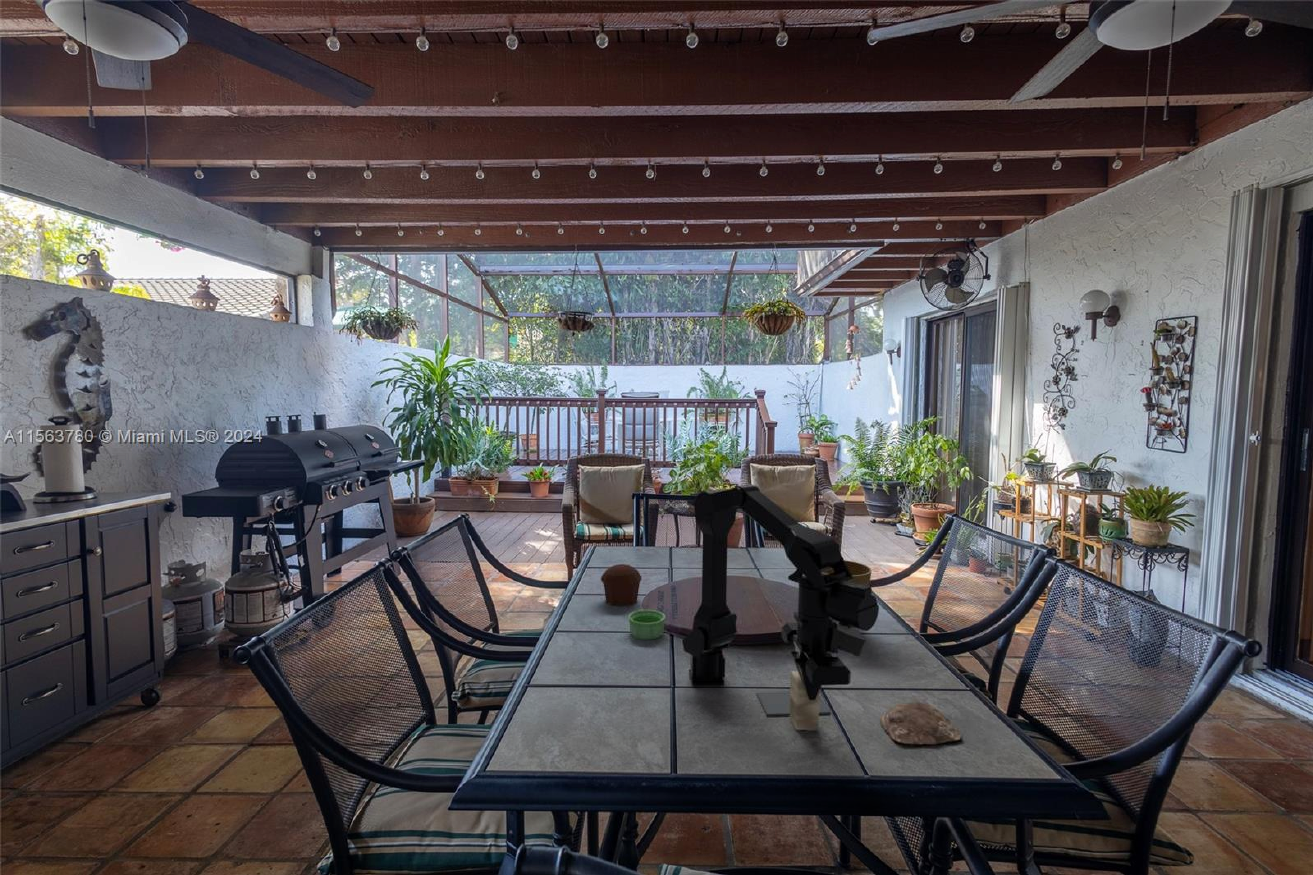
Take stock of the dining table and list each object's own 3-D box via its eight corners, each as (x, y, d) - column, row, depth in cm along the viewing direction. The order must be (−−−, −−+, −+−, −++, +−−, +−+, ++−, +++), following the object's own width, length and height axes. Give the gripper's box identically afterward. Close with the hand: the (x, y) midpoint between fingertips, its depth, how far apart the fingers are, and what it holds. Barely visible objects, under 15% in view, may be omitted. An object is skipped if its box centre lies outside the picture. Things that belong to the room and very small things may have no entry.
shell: (868, 713, 114) (868, 695, 114) (933, 711, 115) (934, 693, 115) (897, 750, 103) (897, 729, 103) (969, 747, 104) (970, 726, 104)
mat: (766, 716, 113) (766, 714, 112) (756, 694, 120) (756, 692, 120) (830, 714, 113) (830, 712, 113) (816, 692, 121) (816, 690, 121)
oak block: (796, 730, 108) (797, 681, 107) (789, 718, 112) (790, 671, 111) (818, 730, 108) (819, 681, 107) (811, 717, 112) (812, 670, 111)
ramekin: (664, 641, 145) (665, 623, 145) (627, 641, 146) (627, 623, 145) (665, 626, 154) (665, 609, 154) (629, 626, 154) (629, 609, 154)
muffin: (624, 591, 180) (624, 558, 180) (649, 601, 172) (650, 566, 171) (592, 600, 172) (592, 565, 172) (616, 611, 164) (617, 574, 163)
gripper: (885, 633, 95) (880, 728, 97) (841, 592, 114) (837, 672, 115) (814, 634, 94) (811, 730, 96) (782, 592, 113) (779, 673, 114)
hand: (811, 699), depth 105 cm, fingers closed
